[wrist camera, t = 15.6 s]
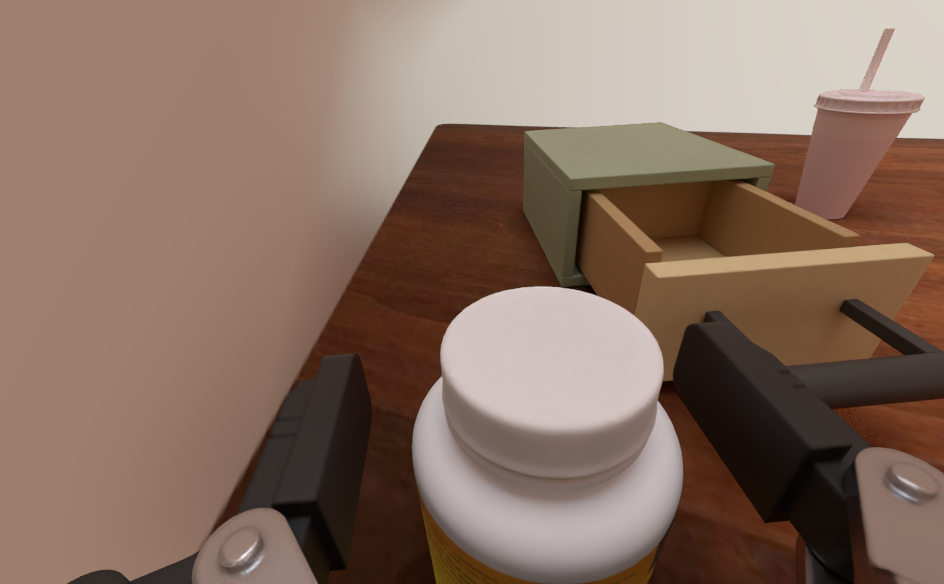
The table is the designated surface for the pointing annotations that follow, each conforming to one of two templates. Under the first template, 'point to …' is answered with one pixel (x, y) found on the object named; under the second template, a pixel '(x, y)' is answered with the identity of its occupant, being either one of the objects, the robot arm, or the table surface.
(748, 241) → the drawer
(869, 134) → the smoothie
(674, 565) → the table surface
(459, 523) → the supplement bottle
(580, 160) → the cabinet
